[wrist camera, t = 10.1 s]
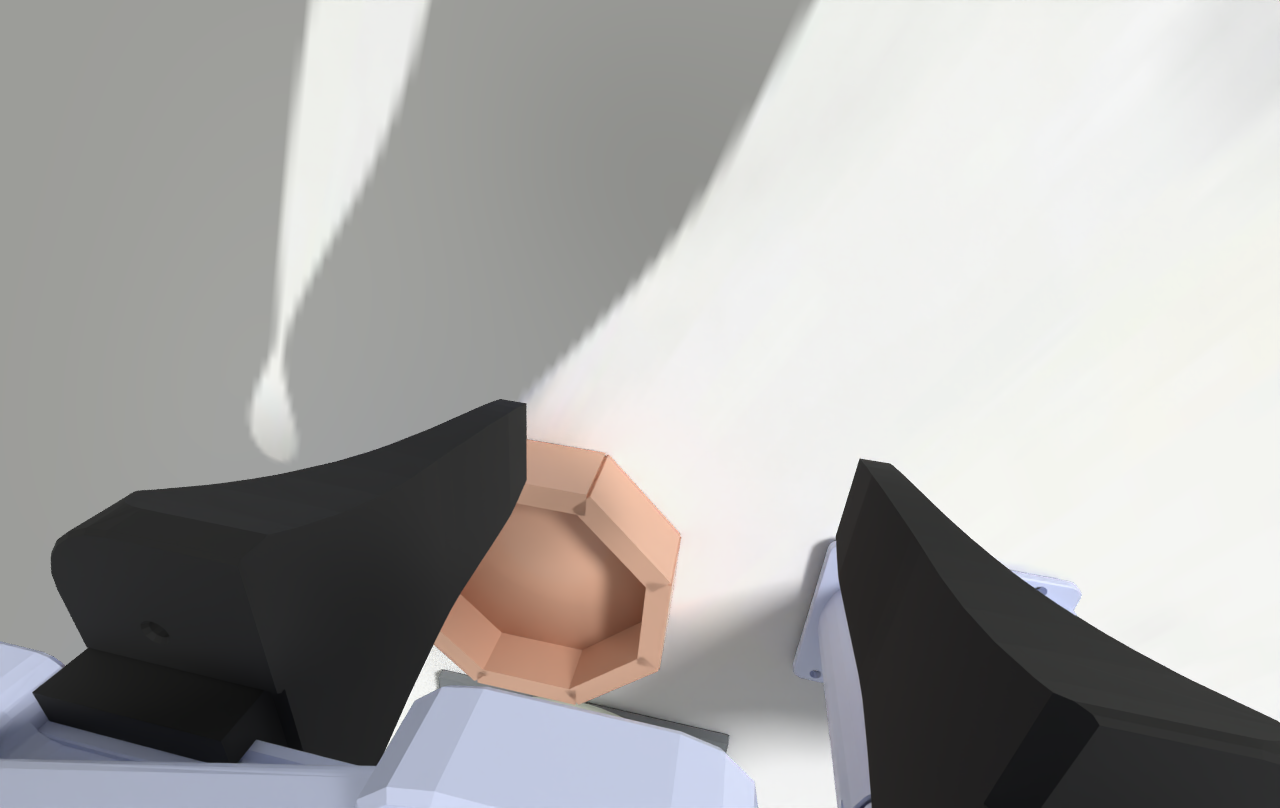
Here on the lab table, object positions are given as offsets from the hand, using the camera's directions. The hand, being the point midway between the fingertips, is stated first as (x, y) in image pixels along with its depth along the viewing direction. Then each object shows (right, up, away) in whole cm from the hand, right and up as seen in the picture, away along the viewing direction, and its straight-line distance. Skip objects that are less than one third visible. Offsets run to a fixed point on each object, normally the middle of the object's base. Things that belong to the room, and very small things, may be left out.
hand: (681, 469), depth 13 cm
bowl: (-5, -6, +14) cm, 16 cm away
